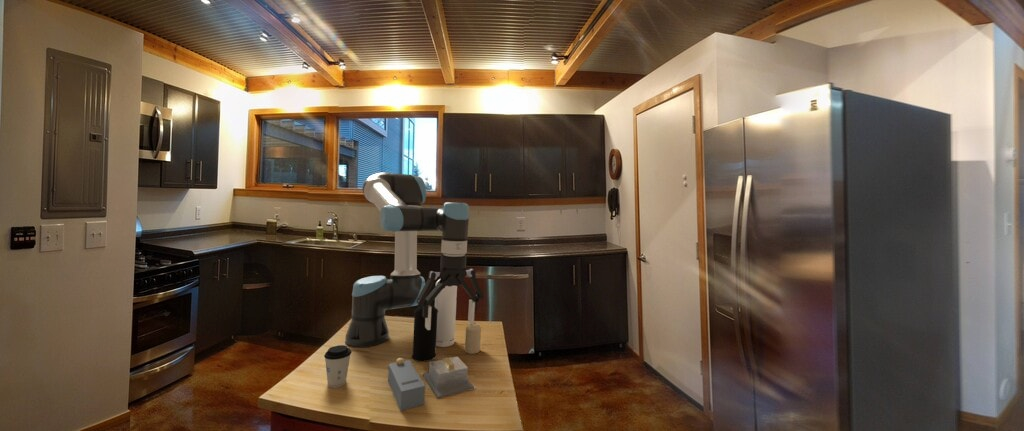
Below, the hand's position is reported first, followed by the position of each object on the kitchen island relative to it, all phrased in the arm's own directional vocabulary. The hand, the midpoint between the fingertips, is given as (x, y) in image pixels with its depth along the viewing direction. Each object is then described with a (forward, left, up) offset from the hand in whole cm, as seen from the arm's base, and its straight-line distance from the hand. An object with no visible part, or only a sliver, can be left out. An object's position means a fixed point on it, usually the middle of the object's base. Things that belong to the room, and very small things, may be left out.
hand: (450, 325), depth 97 cm
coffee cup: (-13, -28, -17) cm, 36 cm away
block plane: (0, -12, -17) cm, 21 cm away
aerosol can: (-19, -1, -17) cm, 26 cm away
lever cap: (0, 0, -16) cm, 16 cm away
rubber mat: (0, 0, -17) cm, 17 cm away
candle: (-16, +16, -17) cm, 28 cm away
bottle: (-27, +9, -17) cm, 33 cm away
